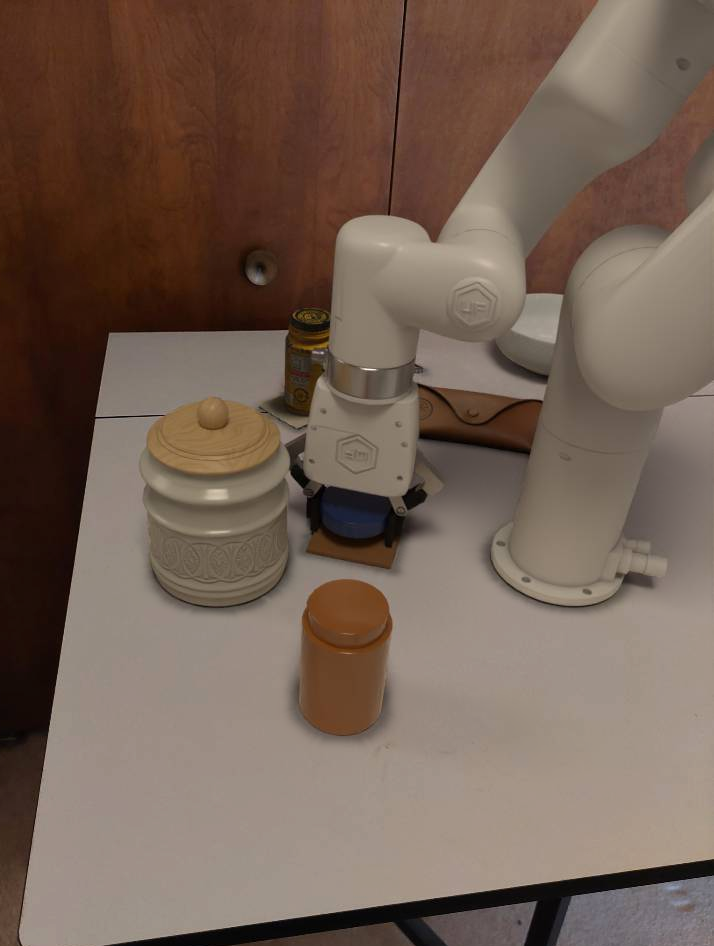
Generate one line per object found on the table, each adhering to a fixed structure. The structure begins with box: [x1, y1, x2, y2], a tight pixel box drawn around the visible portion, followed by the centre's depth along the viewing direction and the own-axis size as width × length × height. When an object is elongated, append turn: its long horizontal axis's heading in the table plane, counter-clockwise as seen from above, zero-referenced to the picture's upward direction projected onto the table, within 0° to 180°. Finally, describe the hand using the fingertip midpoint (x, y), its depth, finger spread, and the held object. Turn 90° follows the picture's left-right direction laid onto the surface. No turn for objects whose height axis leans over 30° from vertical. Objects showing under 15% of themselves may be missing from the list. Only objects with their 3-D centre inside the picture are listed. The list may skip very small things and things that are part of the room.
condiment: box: [257, 307, 331, 429], centre depth 97 cm, size 7×8×12 cm
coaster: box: [305, 515, 407, 570], centre depth 81 cm, size 8×8×1 cm
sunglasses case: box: [415, 382, 543, 453], centre depth 97 cm, size 18×7×7 cm
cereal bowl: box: [494, 292, 564, 377], centre depth 110 cm, size 17×17×7 cm
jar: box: [138, 396, 291, 607], centre depth 71 cm, size 13×13×18 cm
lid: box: [319, 486, 392, 538], centre depth 79 cm, size 7×7×2 cm
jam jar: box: [298, 578, 394, 736], centre depth 60 cm, size 7×7×10 cm
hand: (353, 530), depth 80 cm, fingers closed on lid, 7 cm apart
